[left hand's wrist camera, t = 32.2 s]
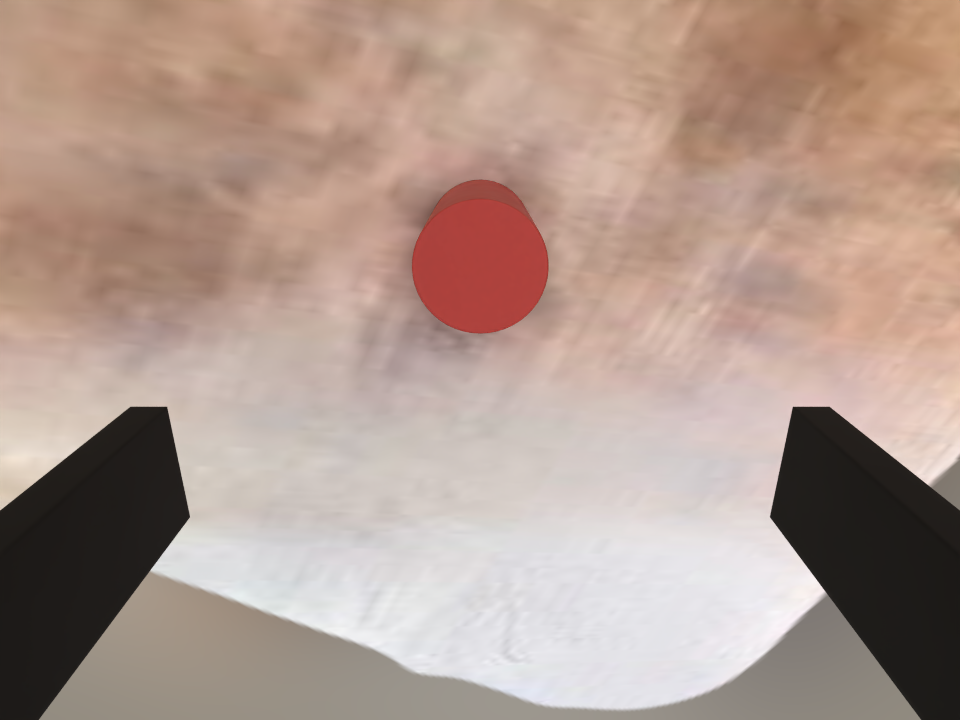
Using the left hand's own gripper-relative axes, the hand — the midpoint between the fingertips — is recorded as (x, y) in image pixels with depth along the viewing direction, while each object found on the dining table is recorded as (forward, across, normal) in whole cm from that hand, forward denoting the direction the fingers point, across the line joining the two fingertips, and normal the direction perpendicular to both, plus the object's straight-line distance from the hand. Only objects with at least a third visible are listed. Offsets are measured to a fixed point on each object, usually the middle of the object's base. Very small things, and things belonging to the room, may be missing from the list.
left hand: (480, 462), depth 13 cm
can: (+31, 0, 0) cm, 31 cm away
